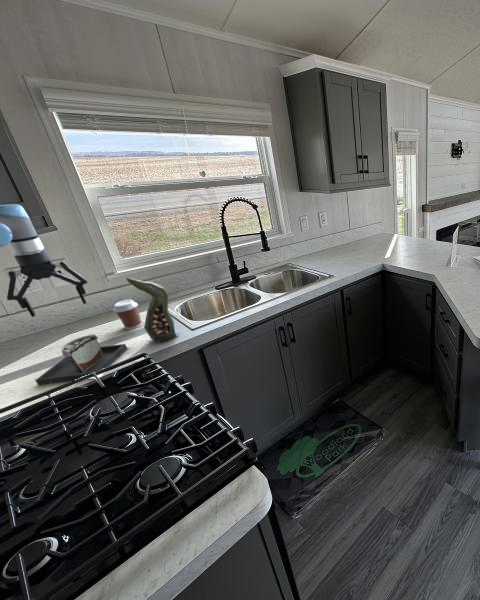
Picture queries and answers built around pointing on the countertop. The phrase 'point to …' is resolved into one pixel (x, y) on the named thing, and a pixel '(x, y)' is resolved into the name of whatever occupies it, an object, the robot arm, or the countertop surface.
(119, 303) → the coffee cup
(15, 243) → the robot arm
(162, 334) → the tentacle
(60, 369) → the storage tray
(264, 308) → the countertop surface
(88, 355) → the food container
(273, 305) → the countertop surface
